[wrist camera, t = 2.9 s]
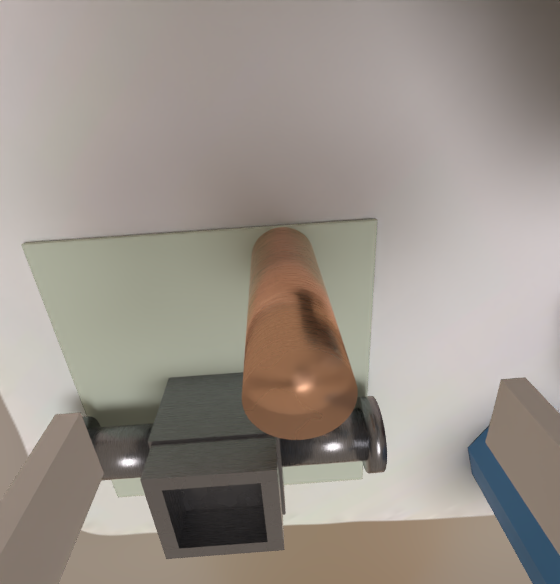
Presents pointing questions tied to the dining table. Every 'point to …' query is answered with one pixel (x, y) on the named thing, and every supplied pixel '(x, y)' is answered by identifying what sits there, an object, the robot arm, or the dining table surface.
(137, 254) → the mat
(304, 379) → the brown mallet handle
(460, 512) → the dining table surface
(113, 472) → the metal mallet head
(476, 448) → the water bottle
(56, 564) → the robot arm
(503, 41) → the dining table surface
